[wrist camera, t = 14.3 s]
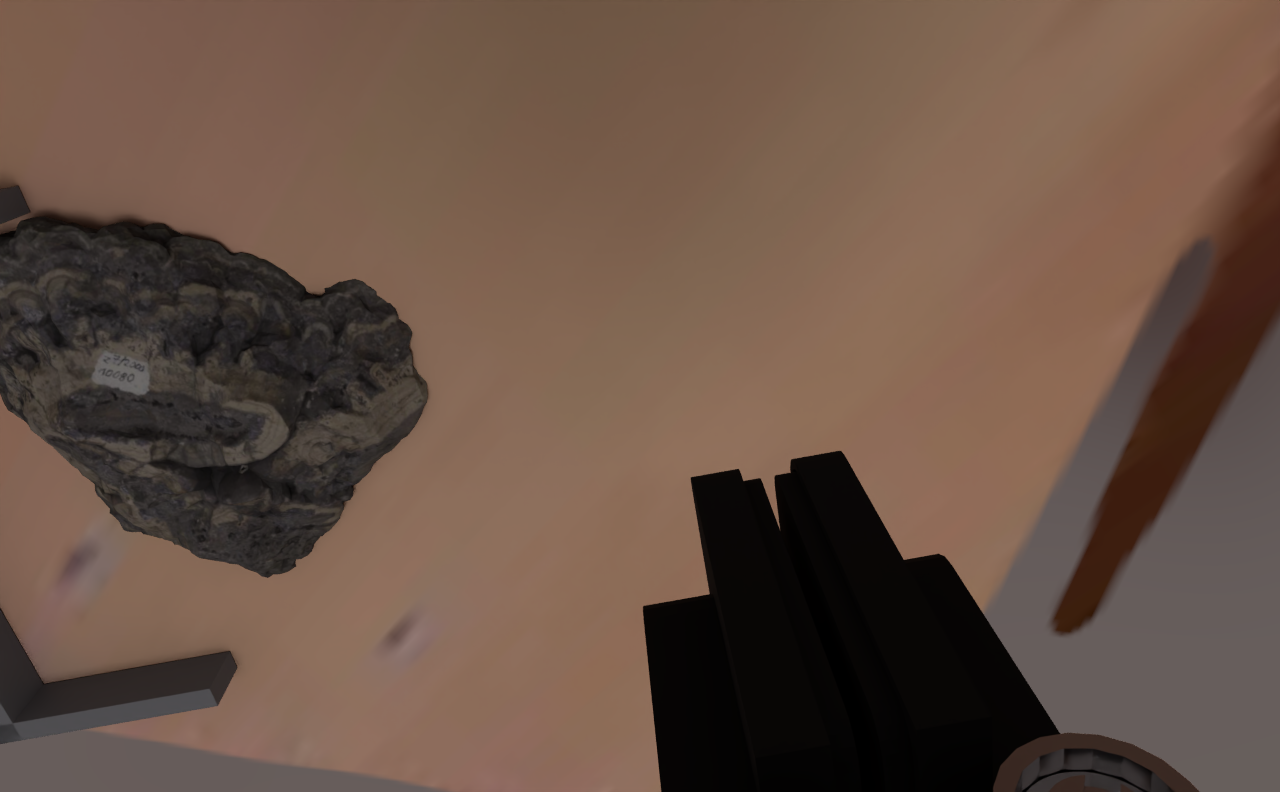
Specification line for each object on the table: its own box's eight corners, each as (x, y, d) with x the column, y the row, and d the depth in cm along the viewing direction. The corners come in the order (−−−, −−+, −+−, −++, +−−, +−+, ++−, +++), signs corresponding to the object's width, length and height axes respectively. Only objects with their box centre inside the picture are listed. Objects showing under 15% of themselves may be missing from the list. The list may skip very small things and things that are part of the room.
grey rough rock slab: (379, 594, 42) (453, 299, 37) (359, 649, 39) (438, 331, 33) (-60, 494, 39) (-51, 155, 34) (-125, 543, 36) (-127, 174, 30)
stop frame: (-249, 235, 34) (-309, 253, 31) (17, 185, 33) (-24, 199, 31) (27, 704, 43) (-4, 744, 41) (237, 667, 43) (217, 705, 41)
